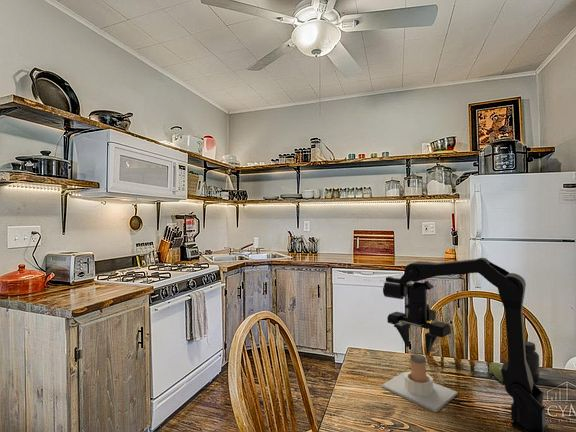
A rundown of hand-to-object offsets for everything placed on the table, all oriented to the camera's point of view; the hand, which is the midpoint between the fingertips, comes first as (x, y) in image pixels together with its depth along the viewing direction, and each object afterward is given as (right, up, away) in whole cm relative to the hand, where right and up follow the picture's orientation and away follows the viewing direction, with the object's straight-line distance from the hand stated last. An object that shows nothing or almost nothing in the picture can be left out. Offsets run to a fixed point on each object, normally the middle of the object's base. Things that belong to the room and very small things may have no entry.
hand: (417, 350), depth 103 cm
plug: (0, -12, 0) cm, 12 cm away
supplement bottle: (+40, -13, +7) cm, 42 cm away
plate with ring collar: (0, -13, 0) cm, 13 cm away
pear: (+31, -13, +7) cm, 34 cm away
